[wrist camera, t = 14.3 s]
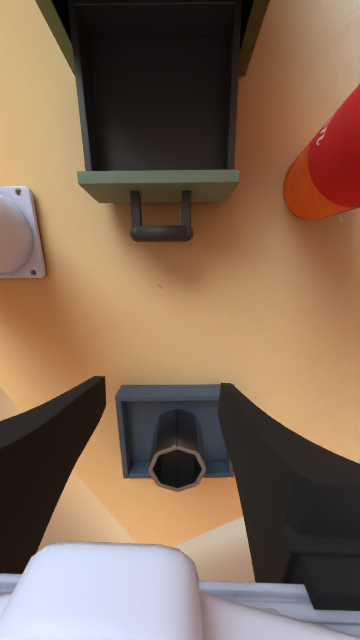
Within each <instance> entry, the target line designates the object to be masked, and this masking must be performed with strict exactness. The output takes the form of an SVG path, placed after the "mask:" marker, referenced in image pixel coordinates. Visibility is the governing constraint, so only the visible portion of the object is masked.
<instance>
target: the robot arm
mask: <svg viewBox="0 0 360 640" xmlns="http://www.w3.org/2000/svg"><path fill="white" fill-rule="evenodd" d="M20 191H21V195H19V192H20ZM34 270H35V271H36V274H34ZM45 275H46V270H45V264H44V259H43V253H42V247H41V241H40V235H39V229H38V223H37V217H36V211H35V205H34V200H33V194H32V191H31V190H30V189H29V188H27V187H25V186H0V278H43V277H45ZM105 407H106V388H105V377H104V376H94V377H92V378H90V379H88V380H86V381H85V382H83V383H81V384H79V385H78V386H76V387H74V388H72V389H71V390H69V391H67V392H65V393H63V394H61V395H60V396H58V397H56V398H54V399H52V400H50V401H48V402H46V403H44V404H42V405H40V406H37V407H35V408H33V409H31V410H28V411H26V412H24V413H21V414H19V415H16V416H13V417H10V418H8V419H5V420H2V421H0V640H360V464H358V463H356V462H354V461H351V460H349V459H347V458H344V457H342V456H340V455H337V454H335V453H333V452H331V451H329V450H327V449H325V448H323V447H321V446H319V445H316V444H315V443H313V442H311V441H309V440H307V439H305V438H303V437H302V436H300V435H298V434H296V433H295V432H293V431H291V430H290V429H288V428H286V427H285V426H283V425H282V424H280V423H279V422H277V421H276V420H274V419H273V418H272V417H270V416H269V415H267V414H266V413H265V412H264V411H262V410H261V409H260V408H258V407H257V406H256V405H255V404H254V403H252V402H251V401H250V400H249V399H248V398H247V397H246V396H244V395H243V394H242V393H241V392H240V391H239V390H238V389H237V388H235V387H234V386H233V385H232V384H231V383H221V387H220V395H219V403H218V410H217V412H218V418H219V423H220V428H221V431H222V435H223V438H224V441H225V445H226V448H227V451H228V454H229V457H230V460H231V464H232V467H233V471H234V474H235V478H236V483H237V488H238V492H239V497H240V502H241V507H242V511H243V516H244V521H245V526H246V532H247V537H248V543H249V548H250V553H251V559H252V565H253V570H254V575H255V582H256V583H250V582H248V583H247V582H223V581H199V578H198V573H197V570H196V566H195V563H194V562H193V561H192V559H191V558H189V557H188V556H187V555H186V554H184V553H183V552H182V551H180V550H179V549H177V548H172V547H168V546H164V545H156V544H130V543H105V542H79V541H67V542H60V543H54V544H50V545H48V546H46V547H45V548H43V549H42V550H41V551H39V552H38V553H36V552H37V550H38V547H39V545H40V543H41V540H42V538H43V535H44V533H45V531H46V528H47V526H48V523H49V521H50V519H51V516H52V514H53V512H54V509H55V507H56V505H57V503H58V500H59V498H60V496H61V493H62V491H63V489H64V487H65V484H66V482H67V480H68V478H69V476H70V474H71V472H72V470H73V468H74V466H75V464H76V462H77V460H78V458H79V456H80V455H81V453H82V451H83V449H84V448H85V446H86V444H87V442H88V441H89V439H90V437H91V435H92V434H93V432H94V430H95V428H96V427H97V425H98V423H99V421H100V419H101V417H102V414H103V412H104V409H105Z"/></svg>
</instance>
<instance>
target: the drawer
mask: <svg viewBox="0 0 360 640" xmlns="http://www.w3.org/2000/svg"><path fill="white" fill-rule="evenodd" d="M67 3H68V12H69V22H70V31H71V40H72V49H73V58H74V67H75V77H76V86H77V95H78V104H79V113H80V122H81V132H82V141H83V150H84V159H85V168H86V171H77V176H78V184H79V185H80V186H81V187H82V188H83V189H84V190H86V191H87V192H88V193H89V194H90V195H91V196H92V197H93V198H94V199H95V200H96V201H98V202H99V203H131V216H132V229H131V231H130V235H131V238H132V239H133V240H134V241H136V242H176V241H190V240H191V239H192V238H193V235H194V232H193V229H192V228H191V202H226V201H227V200H228V199H229V197H230V196H231V194H232V192H233V191H234V189H235V188H236V186H237V184H238V183H239V174H240V170H234V156H235V135H236V114H237V93H238V72H239V51H240V30H241V9H242V0H67ZM141 202H182V225H167V226H142V213H141Z"/></svg>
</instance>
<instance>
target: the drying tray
mask: <svg viewBox="0 0 360 640" xmlns="http://www.w3.org/2000/svg"><path fill="white" fill-rule="evenodd" d="M232 385H233V384H232ZM233 386H234V385H233ZM220 387H221V385H135V386H121V387H120V389H119V391H118V393H117V395H116V396H115V398H116V408H117V418H118V428H119V437H120V447H121V457H122V467H123V476H124V478H152V476H151V474H150V473H149V471H148V467H149V461H150V455H151V449H152V443H153V437H154V430H155V427H156V424H157V422H158V420H159V417H160V415H161V414H163V413H166V412H169V411H171V410H174V409H177V410H178V409H181V410H184V411H187V412H190V413H193V414H194V415H195V417H196V419H197V421H198V423H199V425H200V427H201V434H202V441H203V448H204V456H205V463H206V471H205V473H204V475H203V477H202V478H215V477H233V474H234V471H233V467H232V464H231V460H230V457H229V454H228V451H227V448H226V445H225V441H224V438H223V435H222V431H221V428H220V423H219V418H218V412H217V410H218V403H219V395H220ZM234 387H235V386H234Z"/></svg>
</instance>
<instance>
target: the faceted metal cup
mask: <svg viewBox="0 0 360 640" xmlns="http://www.w3.org/2000/svg"><path fill="white" fill-rule="evenodd" d="M148 471H149V473H150V474H151V476H152V478H153V479H154V481H155V483H156V484H157V485H158V486H159V487H163V488H166V489H169V490H173V491H176V492H177V491H178V492H179V491H182V490H185V489H188V488H192V487H195V486H197V485H198V484H199V482H200V480H201V479H202V477H203V475H204V473H205V471H206V463H205V456H204V448H203V441H202V434H201V427H200V425H199V423H198V421H197V419H196V417H195V415H194V414H193V413H190V412H187V411H184V410H181V409H178V410H177V409H174V410H171V411H169V412H166V413H163V414H161V415H160V417H159V420H158V422H157V424H156V427H155V430H154V437H153V443H152V449H151V455H150V461H149V467H148Z"/></svg>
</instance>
